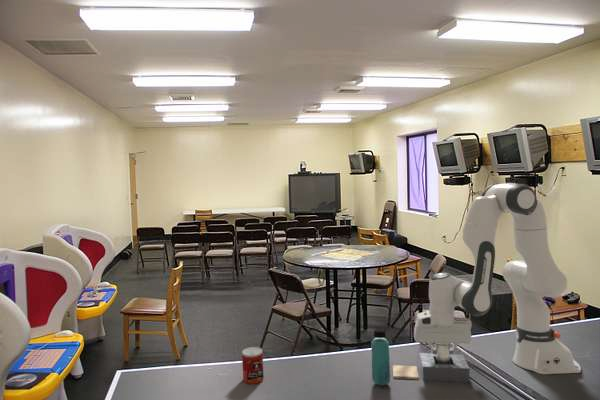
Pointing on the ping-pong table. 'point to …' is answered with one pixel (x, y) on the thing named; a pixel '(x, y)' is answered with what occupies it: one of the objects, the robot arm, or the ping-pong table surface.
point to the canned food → (252, 365)
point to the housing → (444, 368)
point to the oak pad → (405, 372)
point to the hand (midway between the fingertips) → (442, 353)
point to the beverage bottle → (380, 358)
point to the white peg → (442, 353)
